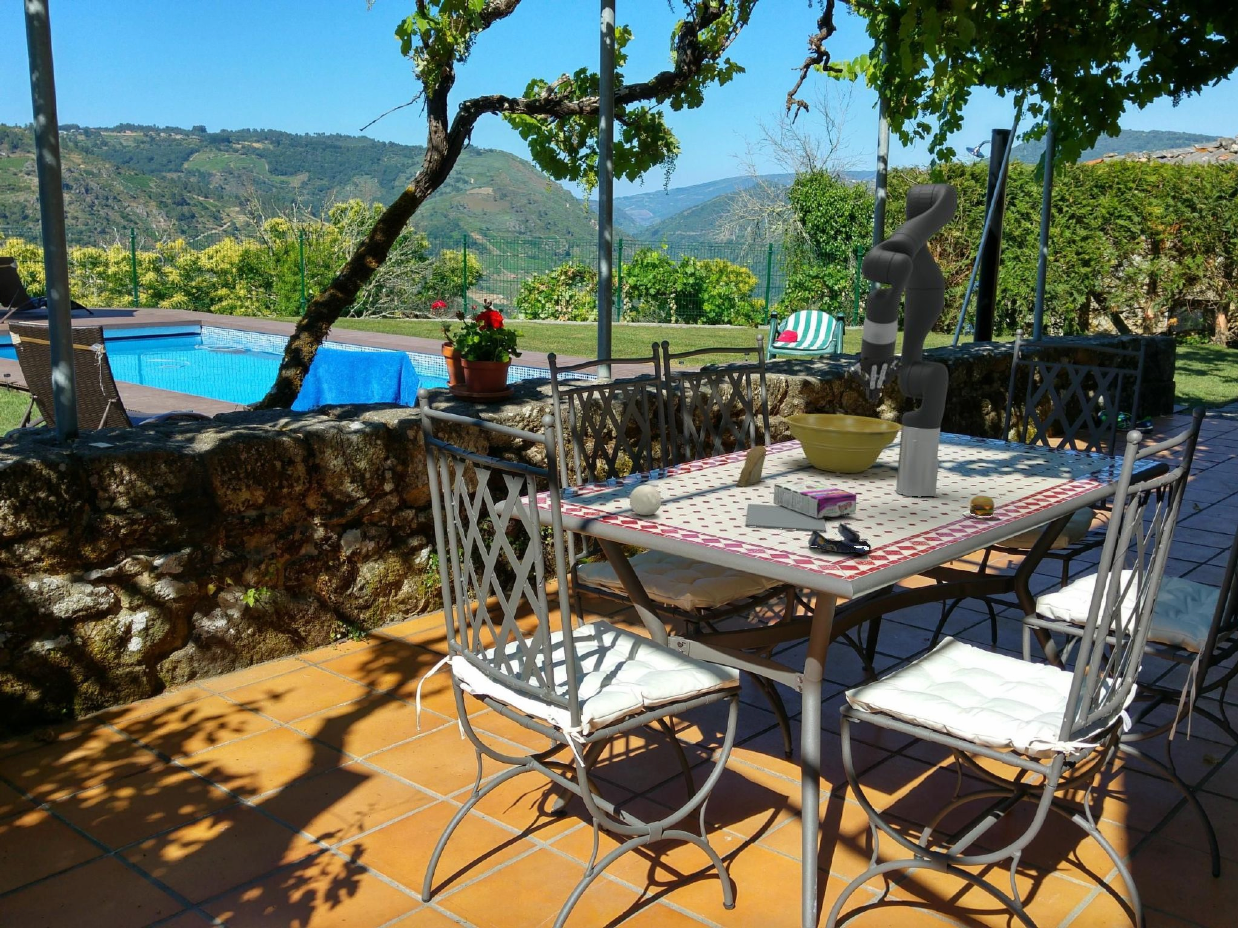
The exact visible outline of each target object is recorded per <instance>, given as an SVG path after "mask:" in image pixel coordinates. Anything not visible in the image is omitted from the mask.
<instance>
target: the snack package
mask: <svg viewBox="0 0 1238 928" xmlns="http://www.w3.org/2000/svg"><path fill="white" fill-rule="evenodd" d="M837 531H838V533H836V532H835V533H834V535H838V534H839V535H840V536H841V537H842V538H843V539H840V540H838V539H834V540H833V539H829V538H826V537H825V536H824V535H823V534H821V532H817V531H811V534H810V537H809V538H808V542H807V543H808V546H809V547H810V546H817V547H816V548H818V547H820V548H819V549H823V548H824V549H823V550H827V549H829V550H828V551H831V550H832V551H831V552H836V553H837V552H838V553H855V552H856V553H858V554H860V555H862V556H865V555H866V554H867V553H868V552H867V551H869V552H870V550H871V549H872V545H871V544H870V543H868V541H867V540H861V535H860V533H858V532H856V530H855V529H853V528H851V527H848V525H847V524H845V523H842V522H841V521H840V522H839V523H838V527H837ZM854 546H867V547H869V550H865V549H864V547H862V548H856V547H854ZM866 552H867V553H866ZM865 553H866V554H865Z"/></svg>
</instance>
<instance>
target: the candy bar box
mask: <svg viewBox="0 0 1238 928" xmlns="http://www.w3.org/2000/svg"><path fill="white" fill-rule="evenodd" d="M773 486H774V487H773V490H774V492H773V504H775V505H776V506H783V507H785V508H788V509H791V510H794V511H797V512H800V513H802V514H805V515H808V516H811V517H813V518H816V519H819V518H824V519H827V518H834V517H842V516H843V517H844V516H853V515H855V514H856V509H857V494H856V493H852V492H850V491H847V490H843V489H839V488H836V487H833V486H830V485H826V484H823V483H821V482H819V481H818V482H817V481H815V480H804V481H803V480H801V481H792V482H782V483H775V484H774V485H773Z"/></svg>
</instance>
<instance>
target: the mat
mask: <svg viewBox="0 0 1238 928" xmlns="http://www.w3.org/2000/svg"><path fill="white" fill-rule="evenodd" d="M745 518H746V519H745V526H756V527H755V528H757V527H763V528H762V529H771V528H782V529H781V530H785V529H796V530H795V531H799V530H804V531H803V532H813V531H824V532H823V533H827V526H826V522H825V518H819V519H816V518H813V517H811V516H808V515H805V514H802V513H800V512H797V511H794V510H791V509H788V508H785V507H783V506H780V505H776V504H775V505H773V504H761V503H760V504H758V503H757V504H756V503H747V510H746V517H745ZM745 526H744V527H745Z"/></svg>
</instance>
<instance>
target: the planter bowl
mask: <svg viewBox="0 0 1238 928" xmlns="http://www.w3.org/2000/svg"><path fill="white" fill-rule="evenodd" d="M784 421H785V422H786V423H787V424H788V427H789V430H790V433H791V436H792V437H793V438H795V439H796V440H797V441H798V442H799V443H800V445H801V448H802V451H803V453H804V455H805V457H806V459H807V461H808V463H810V464H811V465H812V466H813V467H814V468H816V469H818V470H822V471H826V472H833V473H845V474H846V473H848V474H849V473H850V474H854V473H855V474H856V473H857V474H858V473H863V472H865V471H866V470H868V469H870V468H871V467H873V465H874V464H875V463H876V461H877V460H878V459H879V457H880V455H881V454H882V451H883V449H886V448H887V447H888V446H890V445H892V444H893V443H894V442H895V440H896V438H897V436H898V434H899V431H901V429H902V424H899V423H897V422H894V421H890V420H886V419H882V418H881V419H880V418H876V417H867V416H858V415H847V414H831V413H830V414H827V413H811V414H809V413H805V414H803V413H802V414H792V415H789V416H786V417H785V418H784Z"/></svg>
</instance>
